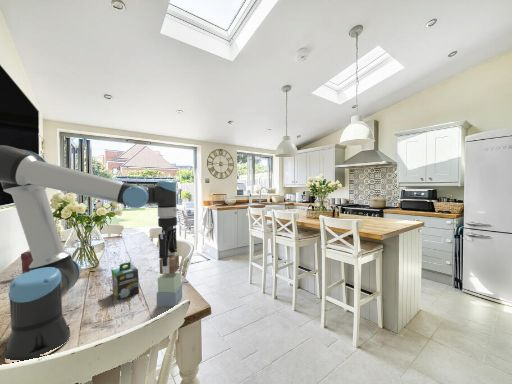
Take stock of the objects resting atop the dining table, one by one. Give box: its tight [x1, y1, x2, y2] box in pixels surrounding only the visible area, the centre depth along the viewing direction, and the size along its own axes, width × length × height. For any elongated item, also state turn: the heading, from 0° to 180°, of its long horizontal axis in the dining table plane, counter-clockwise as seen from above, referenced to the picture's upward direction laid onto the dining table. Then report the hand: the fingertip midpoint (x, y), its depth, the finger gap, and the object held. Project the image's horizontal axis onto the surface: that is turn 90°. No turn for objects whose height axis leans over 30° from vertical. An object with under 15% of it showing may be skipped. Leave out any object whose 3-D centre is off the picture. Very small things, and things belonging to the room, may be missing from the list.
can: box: [20, 250, 33, 274], centre depth 128 cm, size 6×6×14 cm
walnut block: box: [159, 254, 180, 275], centre depth 98 cm, size 6×6×6 cm
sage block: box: [157, 271, 182, 292], centre depth 98 cm, size 7×7×6 cm
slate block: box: [155, 283, 183, 308], centre depth 99 cm, size 8×8×6 cm
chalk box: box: [111, 261, 140, 301], centre depth 107 cm, size 9×9×15 cm
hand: (169, 269), depth 98 cm, fingers closed on walnut block, 6 cm apart
